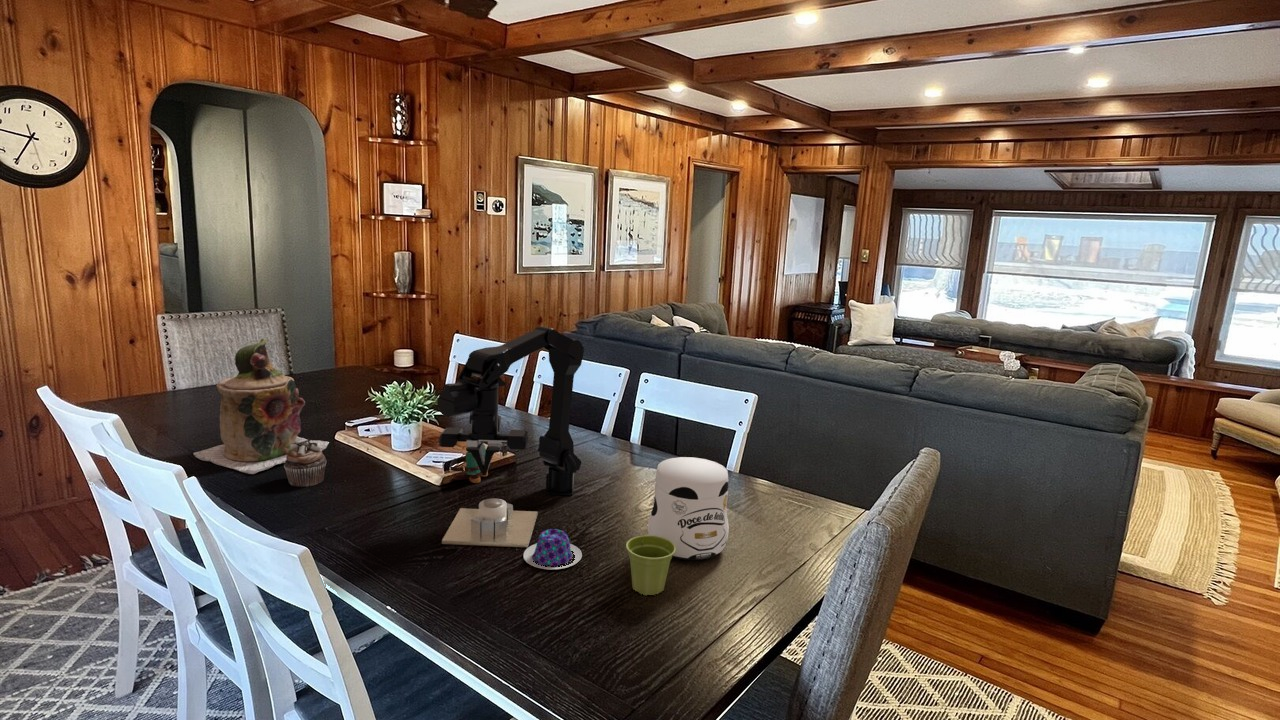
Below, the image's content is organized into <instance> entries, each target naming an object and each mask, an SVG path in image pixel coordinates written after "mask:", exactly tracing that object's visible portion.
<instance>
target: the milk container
mask: <svg viewBox="0 0 1280 720" xmlns="http://www.w3.org/2000/svg"><path fill="white" fill-rule="evenodd" d="M728 472H729V471H728V469H727V468H726V467H725V466H724V465H722V464H720V463H718V462H717V461H713V460H709V459H706V458H699V457H694V456H693V457H689V456H688V457H687V456H680V457H671V458H668V459H664V460H662V461H661V462H659V463H658V465H657V469H656V474H655V480H654V481H655V483H654V499H653V505H652V509H651V512H650V515H649V517H648V525H647V527H648V535H650V536H658V537H662V538H665V539H668V540H669V541H671V542H672V543H673V544H674V545H675V547H676V551H675V553H674V554H673V556H672V558H673V559H678V560H683V561H684V560H685V561H702V560H706V559H708V560H709V559H711V558H713V557H715V556H717V555H719V554H721V552H722V551H723V550H724V549H725V547H726V546H727V545H726V544H727V541H728V538H729V531H730V528H729V520H728V514H727V503H728V497H729V495H728V494H729V473H728Z"/></svg>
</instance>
